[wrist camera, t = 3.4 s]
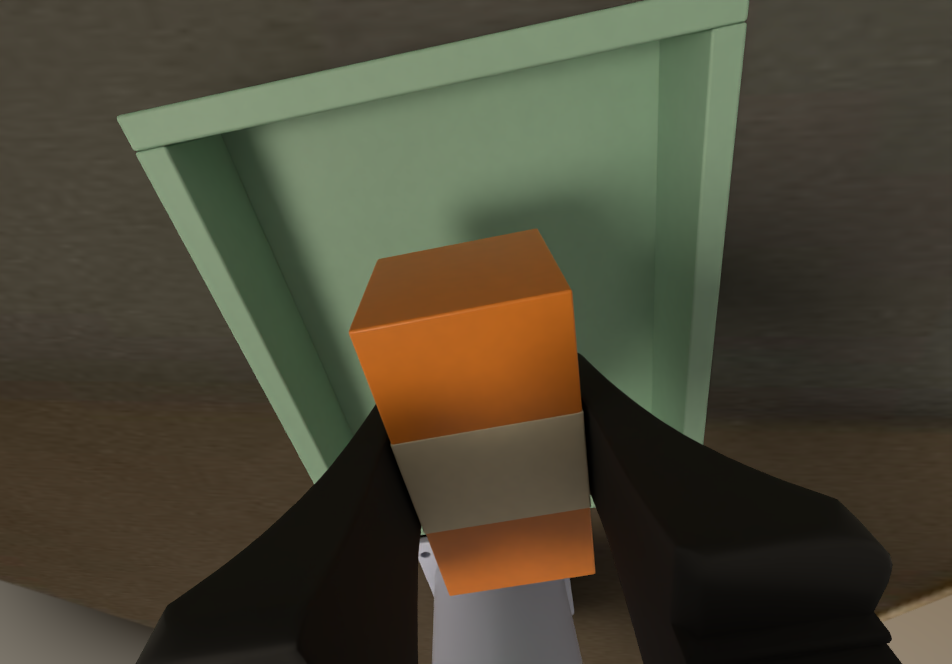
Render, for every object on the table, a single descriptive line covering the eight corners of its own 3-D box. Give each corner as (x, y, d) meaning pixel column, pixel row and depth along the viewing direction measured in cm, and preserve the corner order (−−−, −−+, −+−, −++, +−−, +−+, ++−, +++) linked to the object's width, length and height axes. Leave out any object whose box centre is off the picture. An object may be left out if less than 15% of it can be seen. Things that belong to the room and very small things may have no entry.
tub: (662, 429, 21) (699, 490, 18) (362, 479, 22) (347, 547, 19) (679, 0, 13) (752, -24, 10) (191, 105, 13) (113, 116, 10)
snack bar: (566, 470, 15) (597, 575, 12) (449, 489, 15) (448, 598, 12) (538, 226, 11) (574, 289, 8) (376, 258, 11) (345, 332, 8)
